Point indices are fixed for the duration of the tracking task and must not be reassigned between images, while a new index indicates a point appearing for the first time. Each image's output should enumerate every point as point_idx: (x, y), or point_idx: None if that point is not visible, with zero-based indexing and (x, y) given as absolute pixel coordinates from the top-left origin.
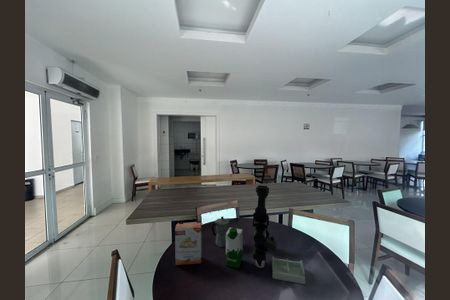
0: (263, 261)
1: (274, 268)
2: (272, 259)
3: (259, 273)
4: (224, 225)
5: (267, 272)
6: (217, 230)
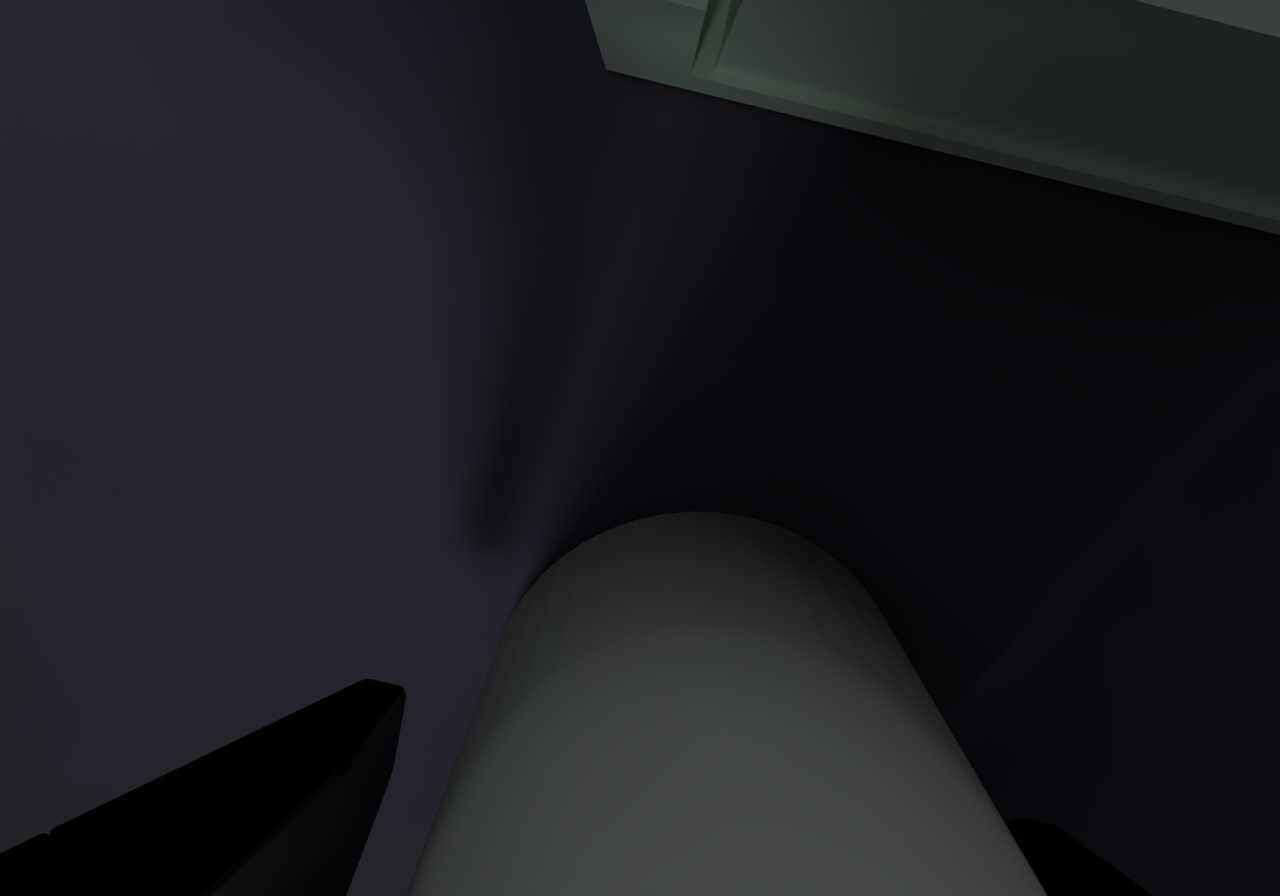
0: (960, 760)
1: None
2: (700, 15)
3: (1240, 819)
4: None
5: (1236, 479)
6: None
